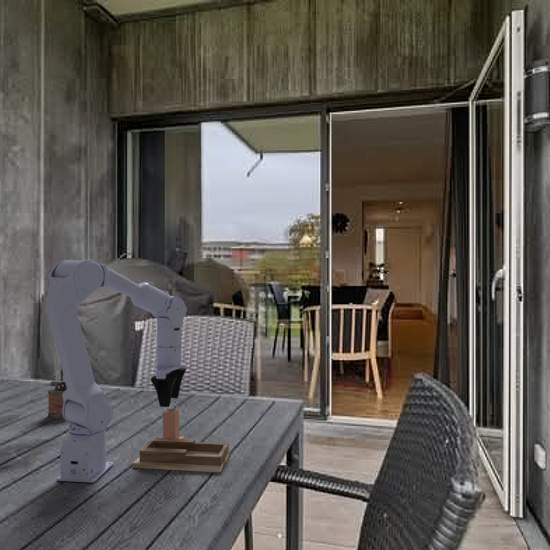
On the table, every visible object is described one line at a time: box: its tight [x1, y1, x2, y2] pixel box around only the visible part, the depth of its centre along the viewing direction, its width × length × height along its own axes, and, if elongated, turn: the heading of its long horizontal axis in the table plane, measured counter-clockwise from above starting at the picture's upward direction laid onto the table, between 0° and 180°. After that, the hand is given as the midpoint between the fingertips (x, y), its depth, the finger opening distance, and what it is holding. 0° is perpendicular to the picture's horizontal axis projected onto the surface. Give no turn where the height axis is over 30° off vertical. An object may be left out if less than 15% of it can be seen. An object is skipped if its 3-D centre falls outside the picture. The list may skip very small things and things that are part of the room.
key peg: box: [162, 408, 185, 439], centre depth 124 cm, size 5×5×8 cm
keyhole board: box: [132, 437, 231, 473], centre depth 113 cm, size 10×19×3 cm, turn 83°
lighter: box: [47, 379, 67, 419], centre depth 145 cm, size 8×3×10 cm, turn 92°
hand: (169, 402), depth 124 cm, fingers open, 7 cm apart
